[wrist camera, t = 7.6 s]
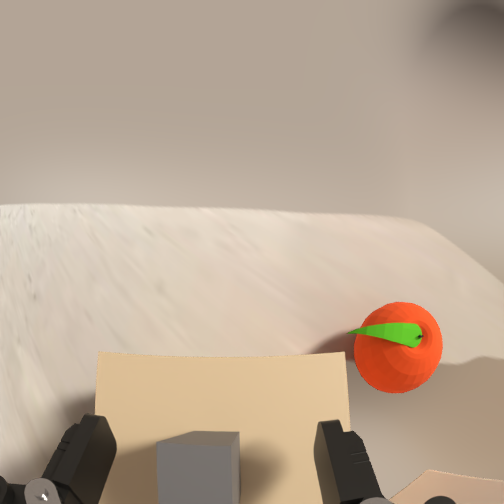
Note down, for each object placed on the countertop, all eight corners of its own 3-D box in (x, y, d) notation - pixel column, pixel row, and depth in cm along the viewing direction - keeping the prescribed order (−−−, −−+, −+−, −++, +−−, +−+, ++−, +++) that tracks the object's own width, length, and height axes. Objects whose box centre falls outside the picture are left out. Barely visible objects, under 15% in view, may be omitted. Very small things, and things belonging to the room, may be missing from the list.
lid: (105, 529, 10) (36, 569, 4) (103, 353, 14) (28, 313, 9) (347, 537, 10) (399, 592, 4) (341, 353, 15) (396, 312, 9)
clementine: (323, 387, 23) (348, 378, 17) (338, 308, 26) (364, 273, 20) (410, 400, 22) (457, 392, 16) (419, 325, 25) (462, 296, 19)
